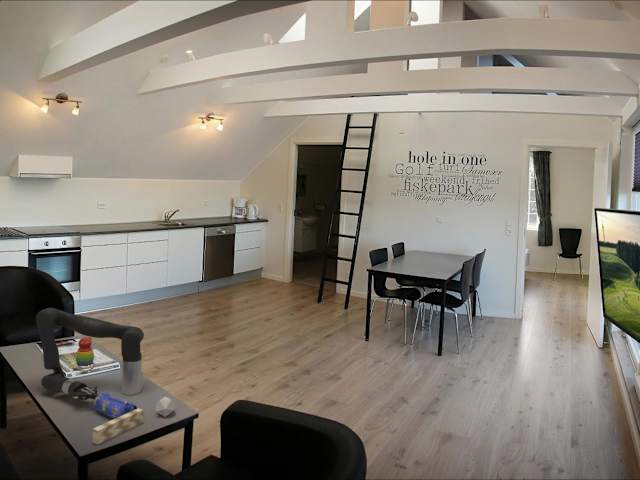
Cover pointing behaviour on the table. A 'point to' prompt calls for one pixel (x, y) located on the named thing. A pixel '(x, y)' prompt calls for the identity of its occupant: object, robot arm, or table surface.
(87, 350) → the stacking bear
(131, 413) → the birch board
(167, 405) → the die
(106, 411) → the pencil case
